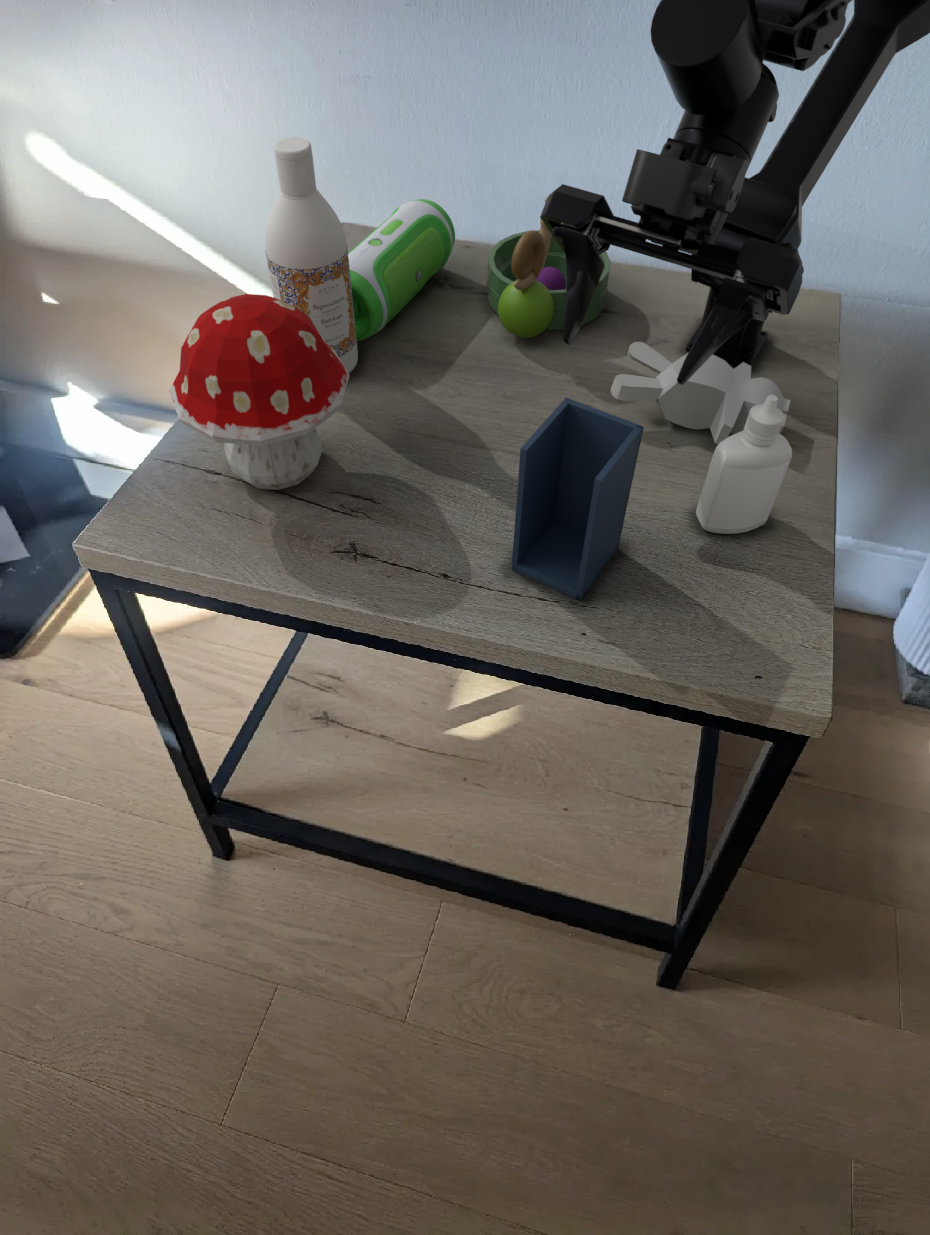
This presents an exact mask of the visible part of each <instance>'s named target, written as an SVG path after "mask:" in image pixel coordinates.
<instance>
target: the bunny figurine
mask: <svg viewBox="0 0 930 1235" xmlns="http://www.w3.org/2000/svg"><path fill="white" fill-rule="evenodd" d="M688 353H689V352H687V353H686V354H683V356H681V357H680V358H678V359H676V360H675V361H673V363H672V362H671V361H669V360H668V359H667V358H666V357H665V356H663V355H662V354H660V353H659V352H658V351H656V350H655V349H654V348H653V347H651V346H649V345H648V344H647V343H645V342H643V341H634V342H633V343H631V344H629V347H628V350H627V356H628V358H629V359H631V360H632V361H634V362H636V363H637V364H640V365H642V366H643V367H646V368H647V369H649V370H652V371H653V372H655V373H656V374H657V375H656V376H655V377H649V376H641V375H636V374H629V373H628V374H627V373H619V374H617V375H615V377H614V378H613V382H612V385H611V388H610V394H611V396H612V397H613V398H615V399H616V400H618V401H619V400H620V401H624V402H628V401H648V400H649V401H650V400H657V401H658V403H659V405H660V408H661V411H662V413H663V415H664V418H665V420H667V421H669V422H672V423H673V424H675V425H678V426H681V427H684V428H688V429H691V430H707V429H710V433H711V435H712V439H713V442H714V444H716V445H718V444H719V443H720V442H722V441H723V440H724V439H726V438H728V437H730V434H731V435H734V434H736V433H738V432H741V431H743V430H744V427H745V424H746V421H747V417H748V414H749V411H750V409H751V408H752V407H753V406H755V405H758V404H763V403H764V402H765V400H766V398H767V397H768V396H769V395H775V396H776V397H777V398H778V399H777V408H779V409H780V410H781V411H782V413H783V415H784V420H783V422H782V425H781V428H780V430H779V433H778V434H782V431H783V430H784V428H785V424H786V421H787V418H788V415H787V414H788V412H789V409H790V405H791V399H788V398H785V397H784V395H783V394H782V391H781V390H780V388H779V386H778V385H777V384H776V383H774V382H773V380H772V379H769V378H766V377H762V376H759V377H752V366H750V365H748V364H746V363H744V362H743V363H741V364H740V365H739V366H737V367H734V368H733V366H732V365H729V364H728V363H727V362H726V361H725V360H723V359H721V358H719V357H717V356H715V355H711V356H710V357H709V359H708V360H707V361H706V362H705V363H704V364H703V365H702V366H701V367H700V368H699V369H698V370H697V371H696V372H695V373H694V374H693V375H692V376H691V377H690V378H689V379H688V381H687V382H686V383H685V384H683V385H681V384H679V383H678V382H677V378H678V375H679V373H680V370H681V368H682V365H683V363H684V360H685V358H686V356H687V354H688Z"/></svg>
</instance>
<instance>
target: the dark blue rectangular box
mask: <svg viewBox="0 0 930 1235" xmlns="http://www.w3.org/2000/svg"><path fill="white" fill-rule="evenodd" d="M644 428H645V427H644V426H643V425H641V424H638V423H636V422H632V421H630V420H628V419H624V418H622V417H619V416H617V415H614V414H611V413H609V412H606V411H603V410H601V409H598V408H597V407H593V406H590V405H588V404H584V403H582V402H580V401H577V400H575V399H573V398H572V399H571V398H569V397H564V399H563V400H562V401H561V402H560V404H559V405H558V406H557V407H556V408H555V409H554V410H553V411H552V412H551V414H550V415H549V416H547V418H546V419H545V420H544V421H543V422H542V423H541V424H540V426H539V427H538V428H537V429H536V430H535V431H534V433H532V435H531V436H530V437H529V438H528V439H527V440H526V441H525V443H524V444H523V445H522V446H521V447H520V449H519V450H520V451H519V464H518V475H517V489H516V504H515V515H514V516H515V517H514V530H513V541H512V542H513V544H512V556H511V568H510V570H512V571H513V572H516V573H518V574H520V575H522V576H525V577H527V578H529V579H531V580H534V581H535V582H538V583H540V584H542V585H545V587H546V586H547V587H549V588H551V589H553V590H555V591H557V592H560V593H561V594H564V595H565V596H568V597H570V598H573V599H574V600H577V601H579V602H581V601H583V599H584V597H585V596H586V594H587V593H588V592H589V590H590V588H591V587H592V586H593V585H594V583H595V581H596V580H597V579H598V577H599V576H600V575H601V573H602V572H603V570H604V569H605V568H606V566H607V565H608V563H609V562H610V561H611V559H612V558H613V556H614V554H616V552H617V550H618V549H619V546H620V541H621V536H622V532H623V527H624V523H625V522H624V521H625V517H626V514H627V508H628V503H629V500H630V493H631V489H632V484H633V479H634V475H635V470H636V466H637V460H638V457H639V452H640V448H641V447H640V446H641V442H642V438H643V432H644Z"/></svg>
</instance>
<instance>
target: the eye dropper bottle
mask: <svg viewBox="0 0 930 1235" xmlns="http://www.w3.org/2000/svg"><path fill="white" fill-rule="evenodd" d="M777 399H778V398H777V397H776V396H775V395H769V396H768V397H767V398H766V400H765V402H764V403H763V404H758V405H755V406H753V407H752V408H751V409H750V411H749V414H748V417H747V421H746V424H745V427H744V430H743V431H741V432H738V433H736V434H734V435H733V434H731V435H729V436H728V438H726V439H724V440H723V441H722V442H720V443H719V444H717V446H716V447H715V449H714V452H713V455H712V458H711V460H710V464H709V467H708V470H707V474H706V477H705V480H704V483H703V486H702V491H701V492H700V497H699V500H698V502H697V507H696V510H695V515H696V519H697V520H698V522H699V524H700V526H701V527H702V529H703V530H705V531H706V532H708V533H715V534H724V535H733V534H742V533H747V532H751V531H753V530H756V529H758V528H759V527H762V526H763V525H765V524H766V523H767V521H768V520H769V518H770V515H771V512H772V510H773V507H774V505H775V502H776V500H777V497H778V495H779V492H780V489H781V487H782V484H783V482H784V479H785V476H786V474H787V471H788V469H789V466H790V463H791V460H792V456H793V449H792V447H791V445H790V443H789V441H788V440H787V438H786V437H785V436H784V435H782V433H780V434H778V433H779V430H780V428H781V425H782V422H783V420H784V415H783V413H782V411H781V410H780V409H779V408H777Z"/></svg>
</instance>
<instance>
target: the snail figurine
mask: <svg viewBox="0 0 930 1235" xmlns="http://www.w3.org/2000/svg"><path fill="white" fill-rule="evenodd" d="M547 198H548V196H546V197H545V198H544V204H545V203H546V201H547ZM539 223H540V226H539V227H540V228H539V230H540V231H539V232H538V231H535V229H534V230H533V229H531V230H527V231H528V232H526V233H525V234H524V235H523V236H522V237H521V238H520V239H519V241H518V243H517V244H516V247H515V249H514V252H513V256H512V263H511V268H512V272H513V275H514V276H515V277H516V278H517V280H516V281H514V282H512V283H511V284H510V285H508V286H507V287H506V288H505V290H504V291H503V293H502V294H501V297H500V299H499V303H498V314H499V315H498V314H497V315H498V318H499V320H500V323H501V325H502V326H503V328H504V329H505V330H506V331H507V332H508V333H510V334H512V335H513V336H515V337H517V338H526V339H528V338H533V337H536V336H538V335H540V334H541V333H543V332H544V331H546V330H545V329H546V328H547V327H548V325H549V324H550V322H551V320H552V317H553V313H554V302H553V298H552V296H551V294H550V292H549V290H548V289H547V287H546V286H545V285H543V284H542V283H541V282H539V281H537V280H536V279H537V277H538V275H539V274H540V272H541V271H542V269H543V267H544V265H545V261H546V258H547V254H548V250H549V246H550V241H551V232H550V231H549V230H548V228H547V227H546V225H545V224H544V222H543V221H542V219H541V218H540V219H539Z"/></svg>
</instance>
